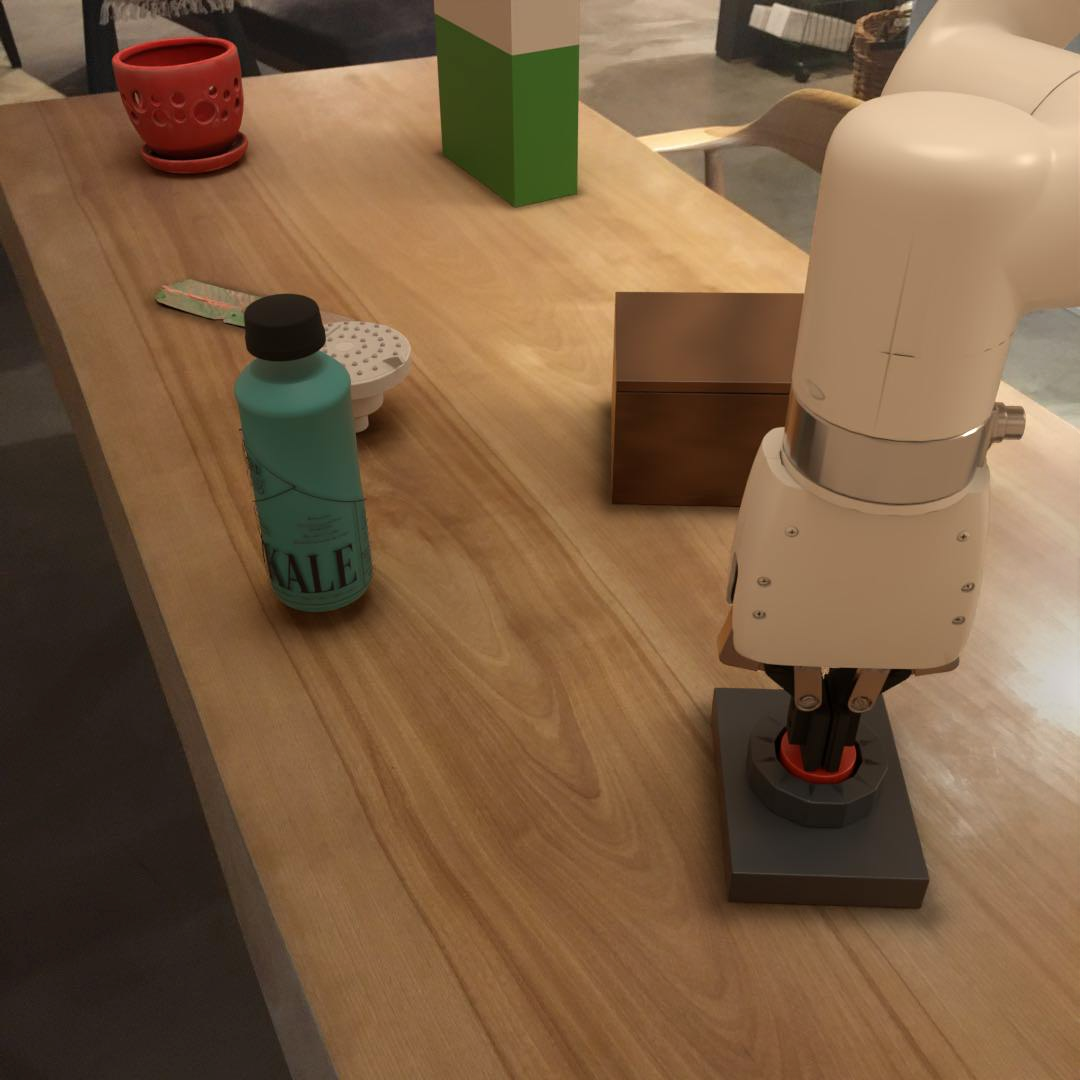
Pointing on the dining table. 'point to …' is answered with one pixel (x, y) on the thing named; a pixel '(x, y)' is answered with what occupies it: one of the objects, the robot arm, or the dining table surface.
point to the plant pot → (184, 102)
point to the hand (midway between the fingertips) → (816, 749)
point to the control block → (812, 813)
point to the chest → (687, 444)
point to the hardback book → (511, 93)
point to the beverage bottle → (303, 457)
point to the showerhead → (368, 362)
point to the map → (218, 302)
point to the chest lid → (706, 341)
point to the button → (794, 766)
